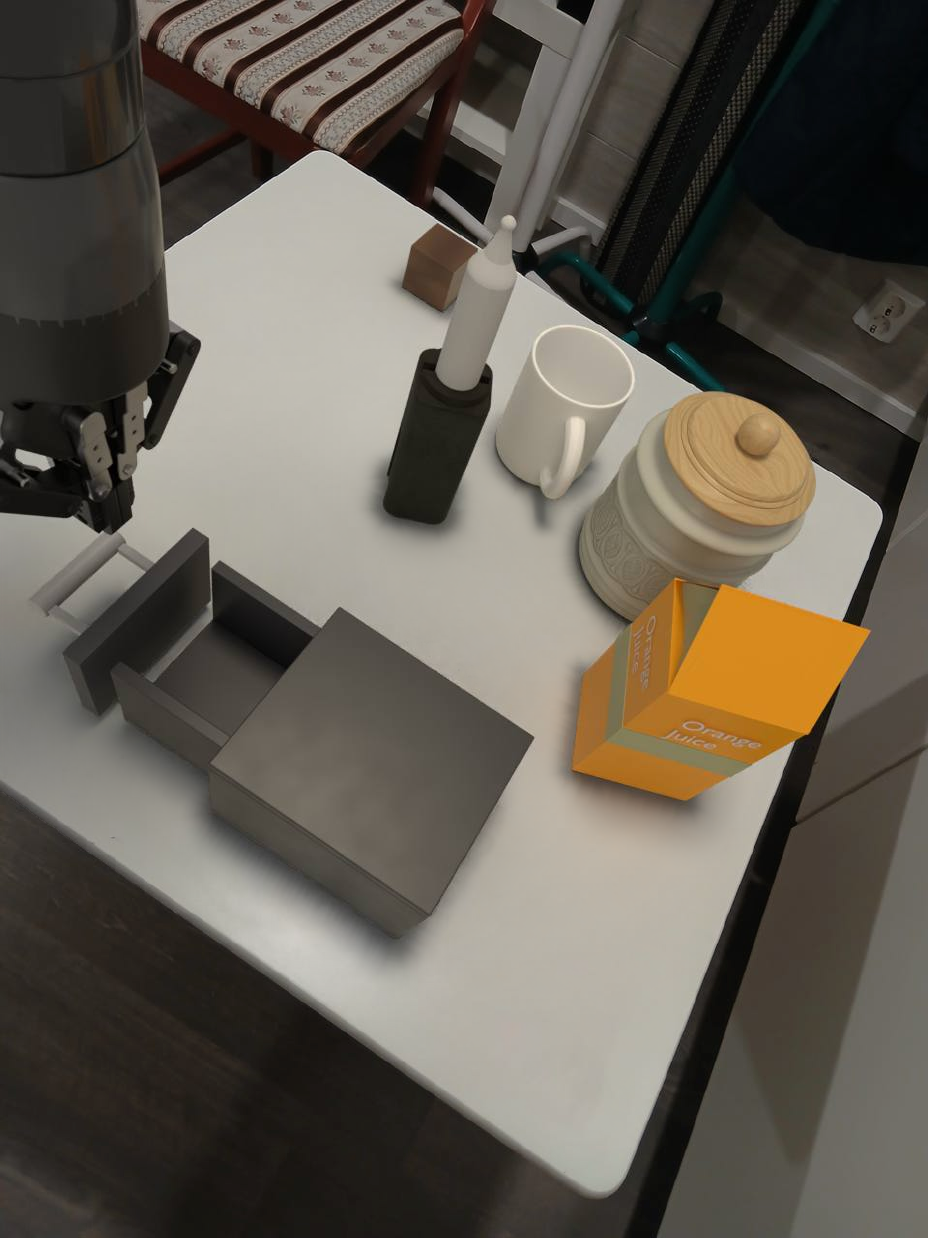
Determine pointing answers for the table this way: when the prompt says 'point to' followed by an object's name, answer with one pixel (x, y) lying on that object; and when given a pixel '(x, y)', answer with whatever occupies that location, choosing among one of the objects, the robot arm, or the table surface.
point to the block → (437, 266)
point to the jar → (697, 501)
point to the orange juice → (707, 688)
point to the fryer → (367, 773)
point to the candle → (452, 391)
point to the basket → (151, 619)
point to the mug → (563, 406)
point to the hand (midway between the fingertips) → (106, 517)
